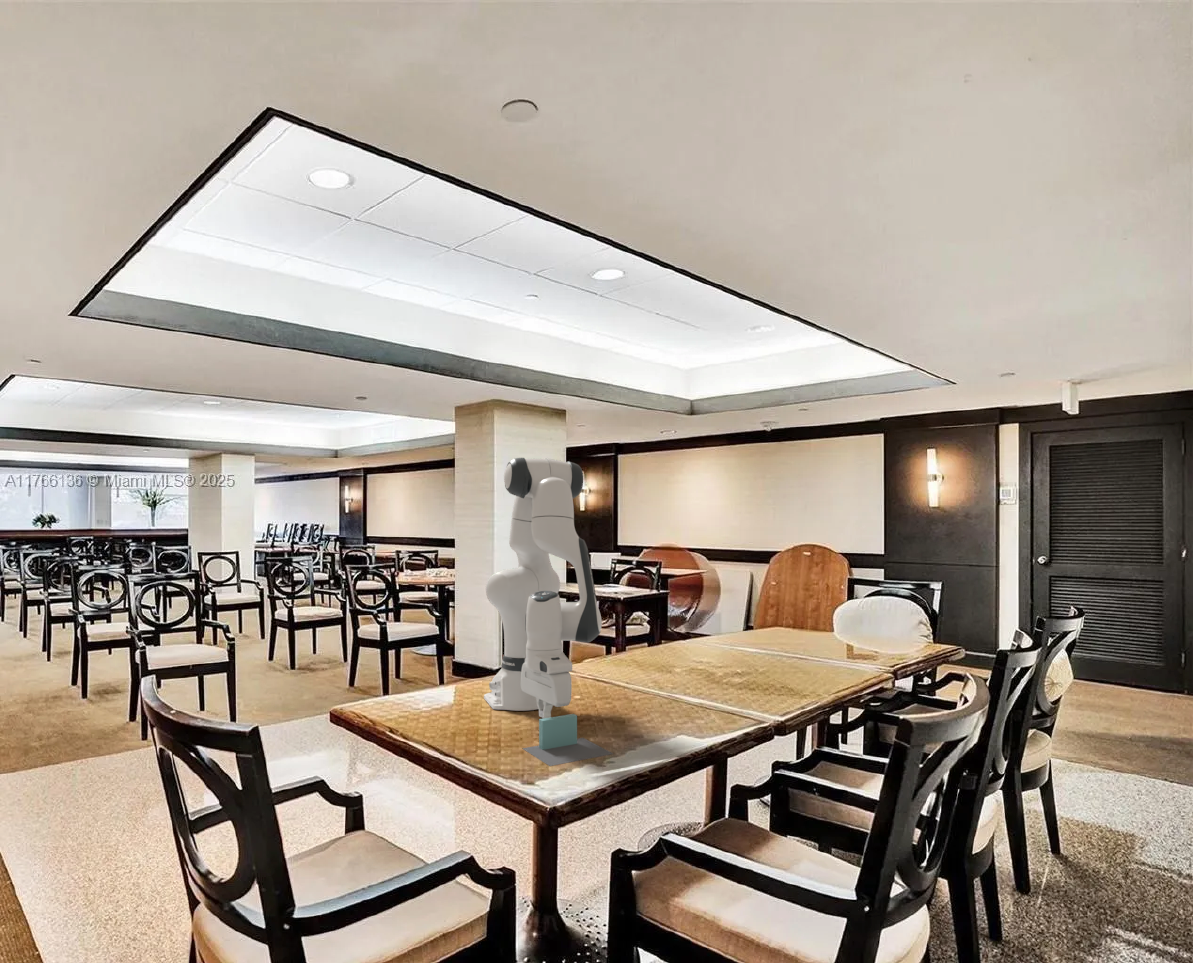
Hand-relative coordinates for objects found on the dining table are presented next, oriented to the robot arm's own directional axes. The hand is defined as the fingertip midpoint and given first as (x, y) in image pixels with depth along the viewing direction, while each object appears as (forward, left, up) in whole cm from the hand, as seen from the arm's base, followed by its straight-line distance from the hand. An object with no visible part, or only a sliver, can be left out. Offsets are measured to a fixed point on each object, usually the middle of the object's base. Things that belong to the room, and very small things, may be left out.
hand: (544, 717), depth 183 cm
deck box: (+8, 0, -5) cm, 9 cm away
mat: (+12, 0, -5) cm, 13 cm away
